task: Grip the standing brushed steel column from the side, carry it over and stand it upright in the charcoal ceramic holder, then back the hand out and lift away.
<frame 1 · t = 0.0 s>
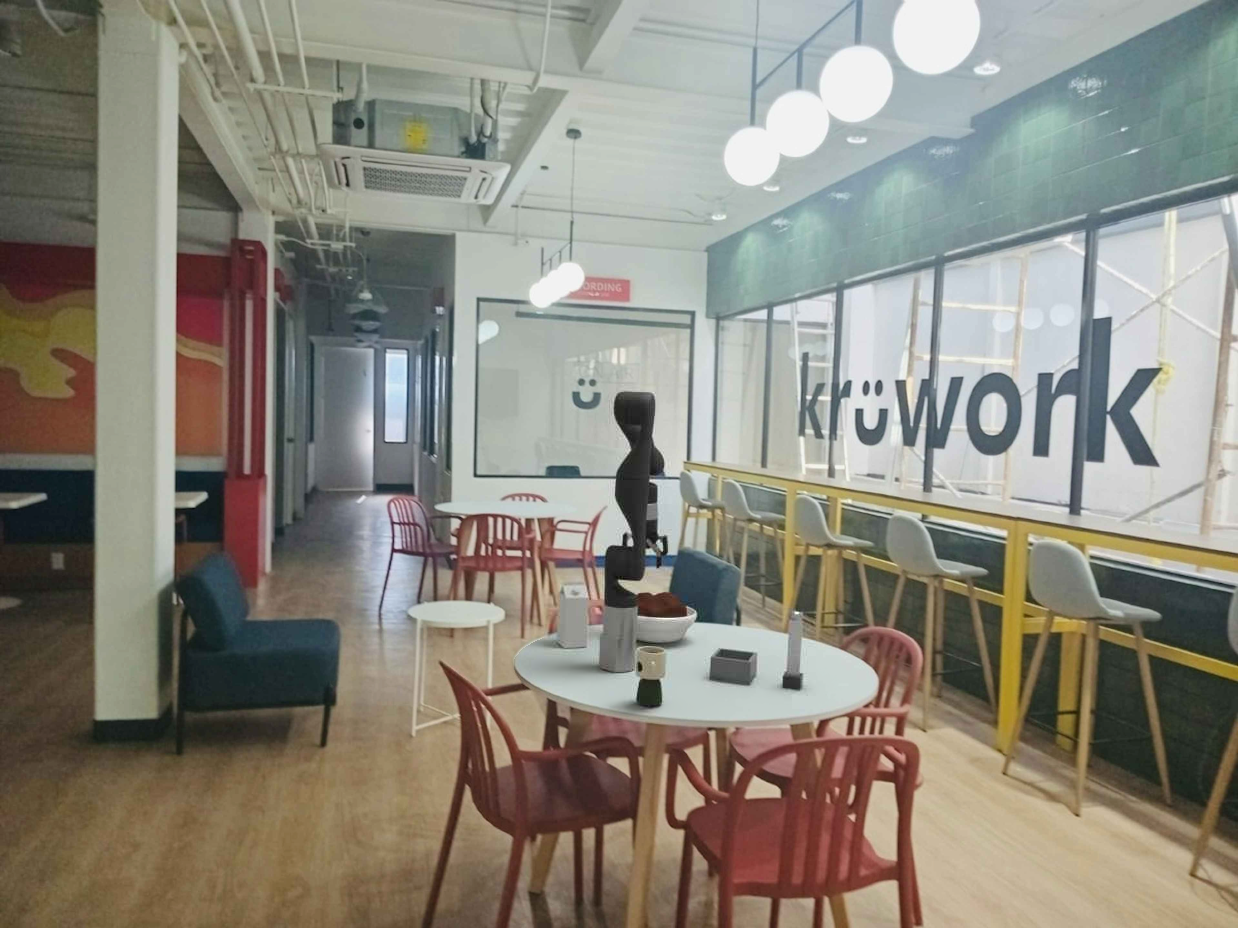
hand: (644, 566, 269), 22 cm above the table, tool pointing down, fingers open, 8 cm apart
brushed steel column: (792, 685, 225), on the table
character mug: (648, 704, 205), on the table
milk carton: (571, 645, 257), on the table
chocolate cake: (655, 640, 268), on the table
holder: (733, 676, 231), on the table
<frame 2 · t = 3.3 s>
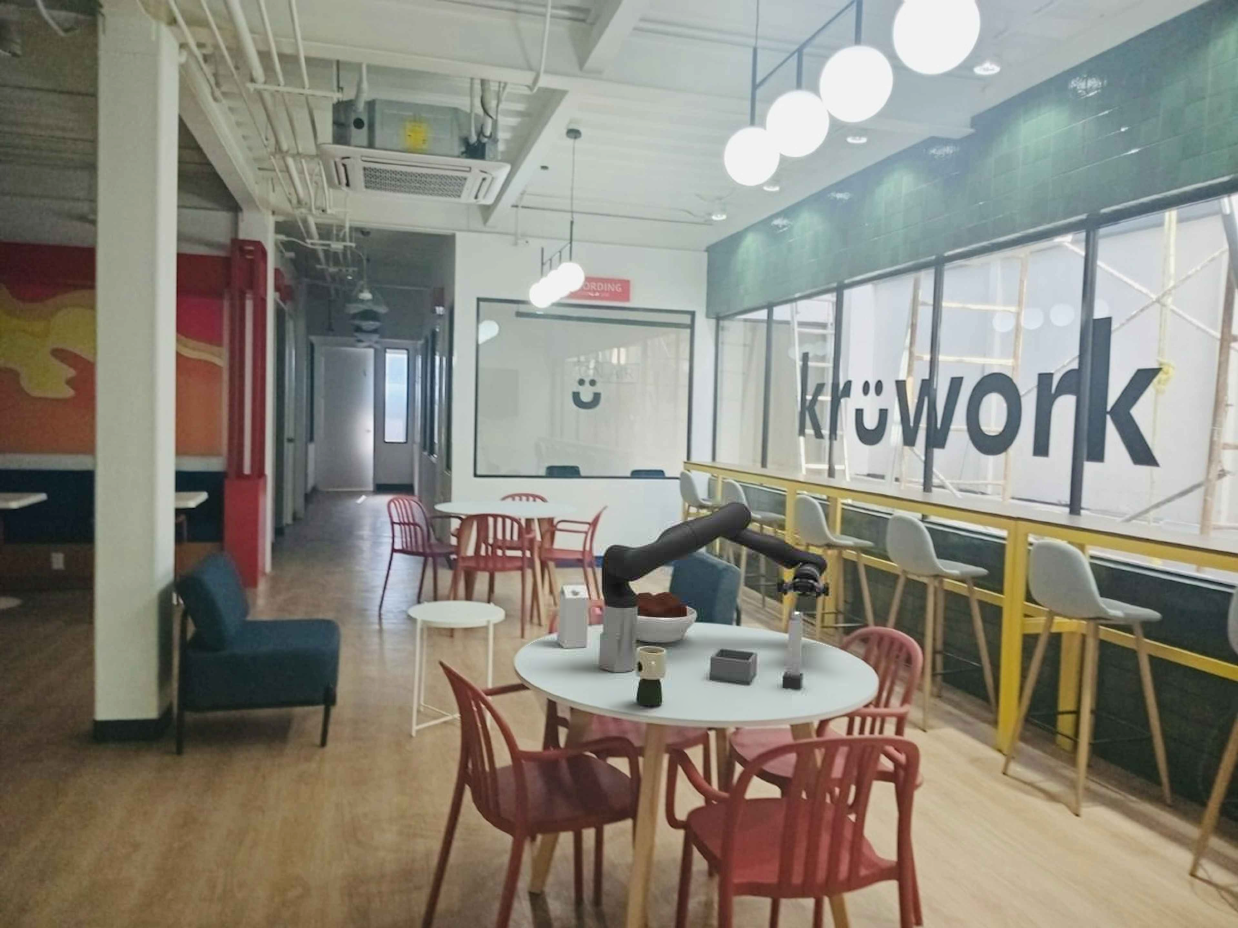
hand: (801, 593, 236), 22 cm above the table, tool horizontal, fingers open, 8 cm apart
nothing on the table moved.
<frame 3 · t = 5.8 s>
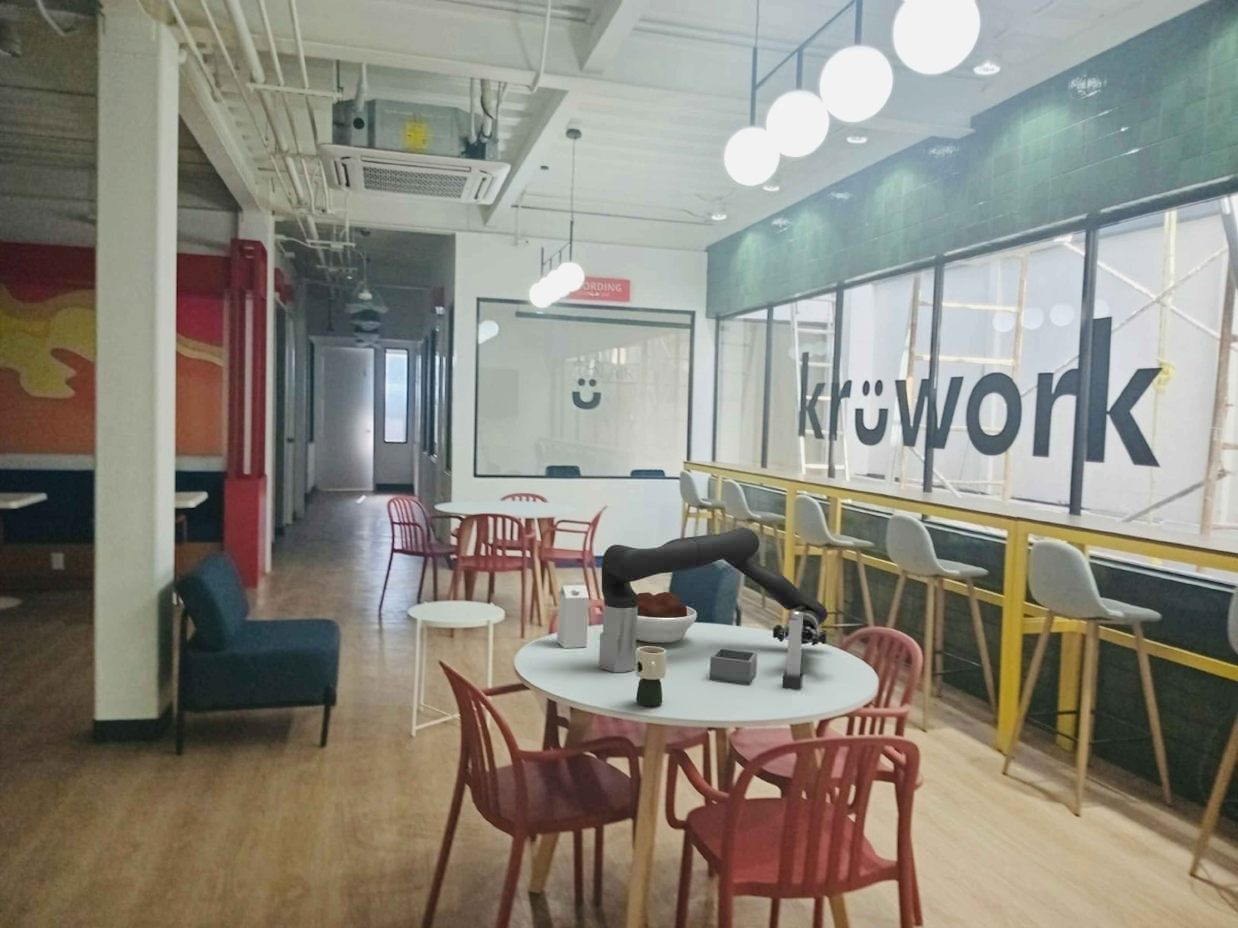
hand: (797, 639, 230), 11 cm above the table, tool horizontal, fingers open, 8 cm apart
nothing on the table moved.
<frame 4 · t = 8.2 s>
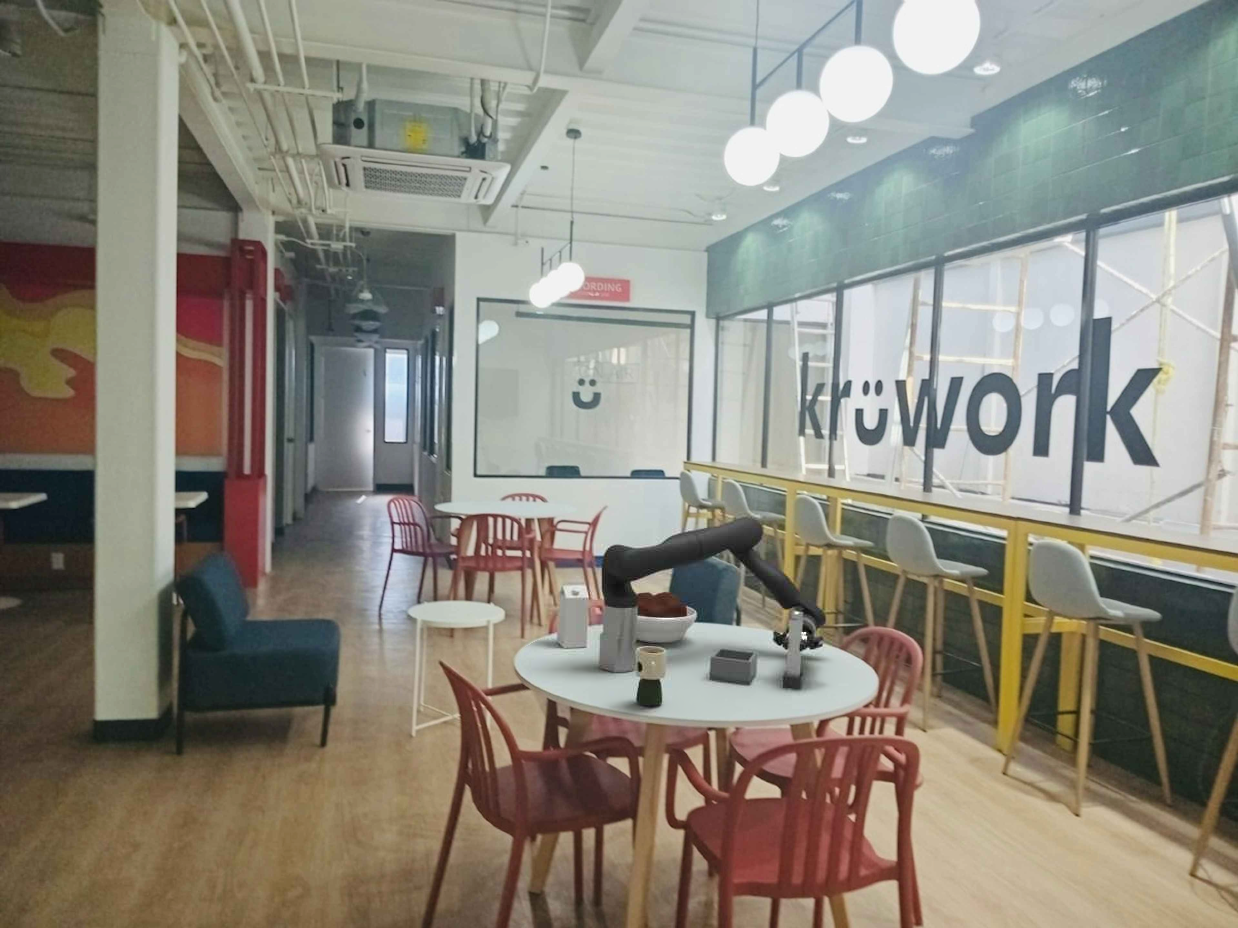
hand: (793, 646, 222), 11 cm above the table, tool horizontal, fingers closed on brushed steel column, 3 cm apart
brushed steel column: (792, 685, 225), on the table, touching gripper
everything else where it was.
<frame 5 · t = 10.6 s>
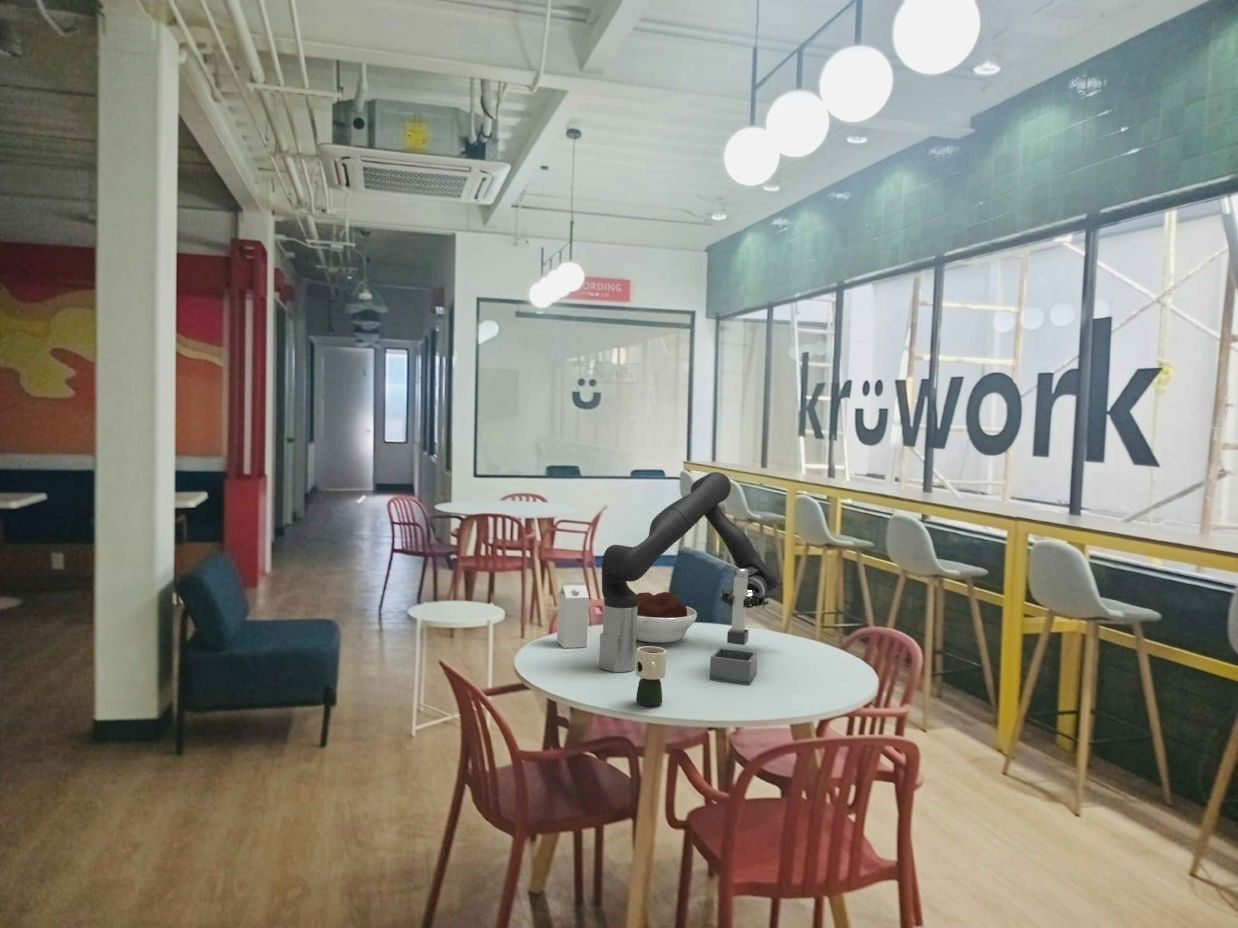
hand: (737, 602, 227), 21 cm above the table, tool horizontal, fingers closed on brushed steel column, 3 cm apart
brushed steel column: (737, 641, 230), point 10 cm above the table, touching gripper
everything else where it was.
when the fingers open (13 cm above the table, at t = 13.2 s): brushed steel column drops 1 cm, resting on holder.
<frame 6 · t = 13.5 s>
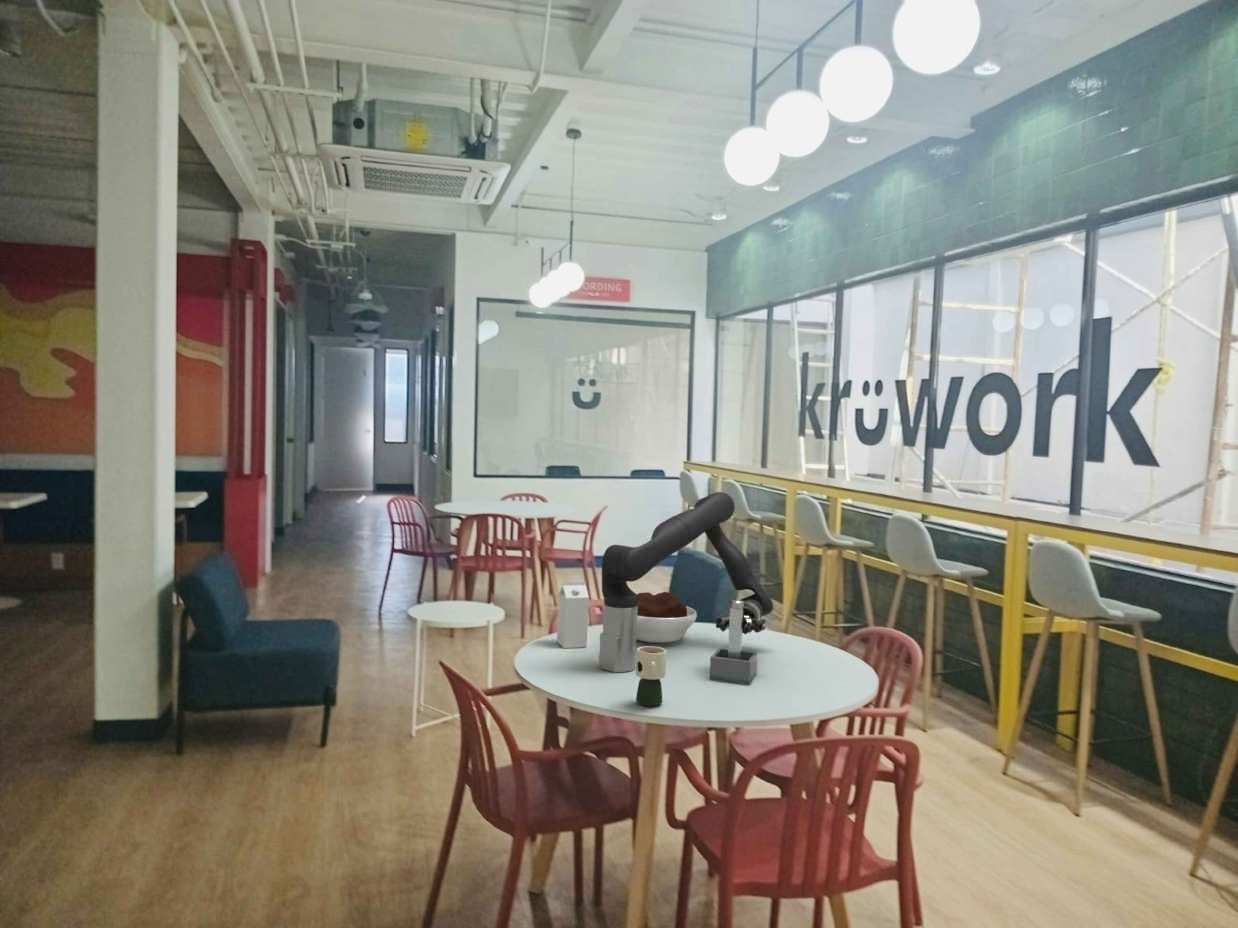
hand: (734, 628, 228), 13 cm above the table, tool horizontal, fingers open, 5 cm apart
brushed steel column: (733, 673, 231), point 1 cm above the table, touching holder
everything else where it was.
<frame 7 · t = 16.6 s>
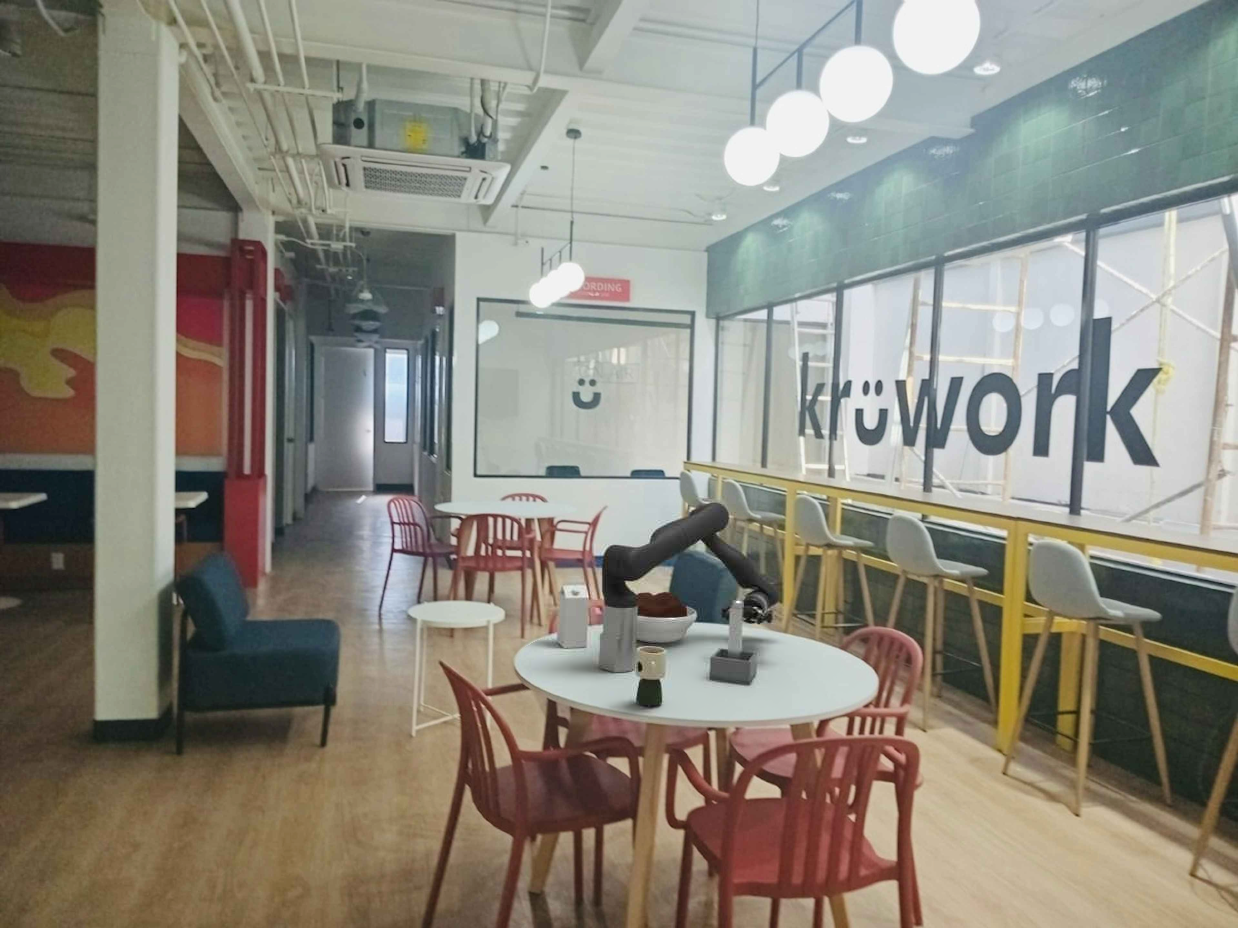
hand: (743, 618, 241), 14 cm above the table, tool horizontal, fingers open, 8 cm apart
nothing on the table moved.
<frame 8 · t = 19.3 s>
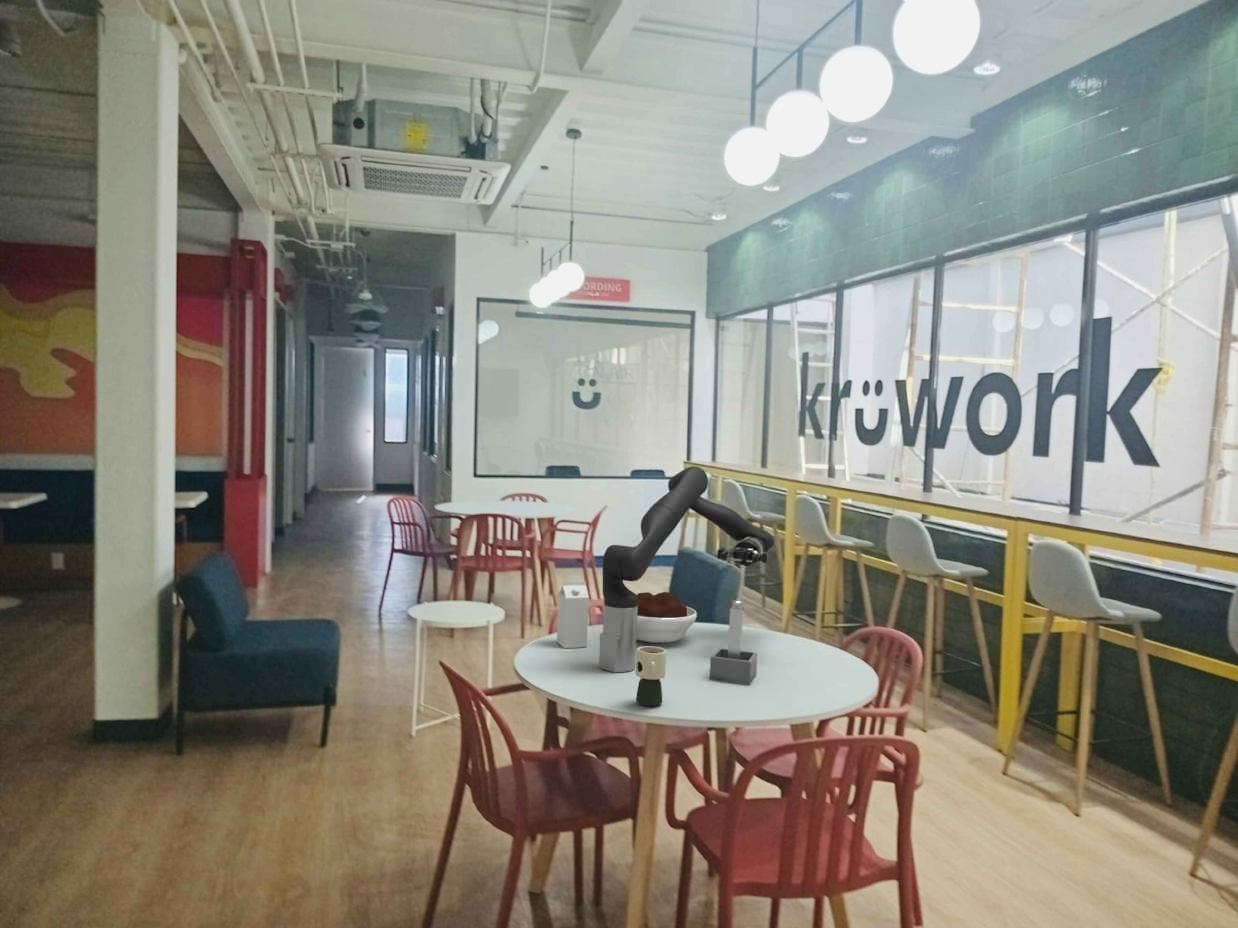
hand: (738, 558, 243), 30 cm above the table, tool horizontal, fingers open, 8 cm apart
nothing on the table moved.
at the end: brushed steel column 0.1 cm off-centre on the holder, point 1.0 cm above the holder's base; brushed steel column tilted 0°; the gripper is holding nothing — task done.
